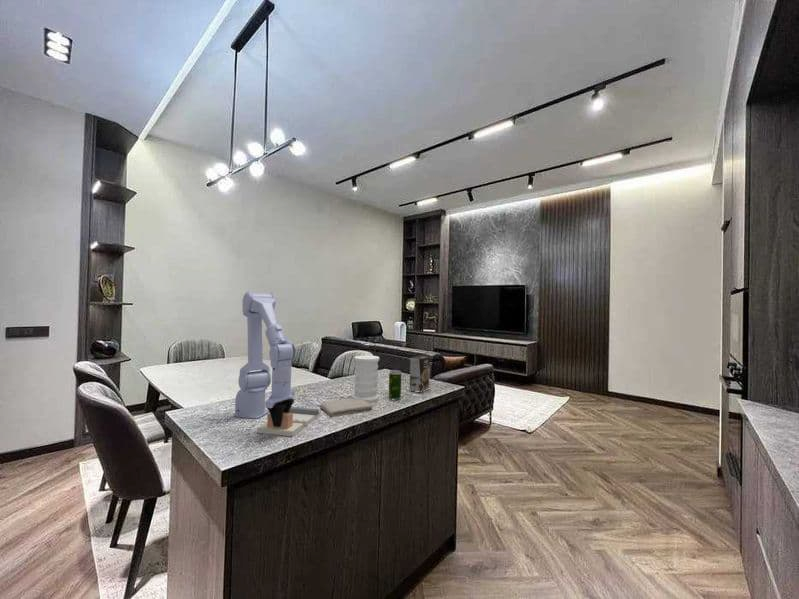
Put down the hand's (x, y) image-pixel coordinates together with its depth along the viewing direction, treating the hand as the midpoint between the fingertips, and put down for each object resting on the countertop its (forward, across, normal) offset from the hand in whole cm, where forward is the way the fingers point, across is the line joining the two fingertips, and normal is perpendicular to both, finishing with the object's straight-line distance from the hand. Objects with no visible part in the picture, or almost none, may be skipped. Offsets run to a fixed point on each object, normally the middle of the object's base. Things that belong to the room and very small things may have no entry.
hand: (279, 424), depth 108 cm
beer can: (+2, +47, -28) cm, 55 cm away
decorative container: (+2, +43, -16) cm, 46 cm away
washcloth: (+3, +27, -13) cm, 30 cm away
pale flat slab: (+2, 0, 0) cm, 2 cm away
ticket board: (+2, +12, 0) cm, 12 cm away
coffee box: (+2, +64, -37) cm, 74 cm away
